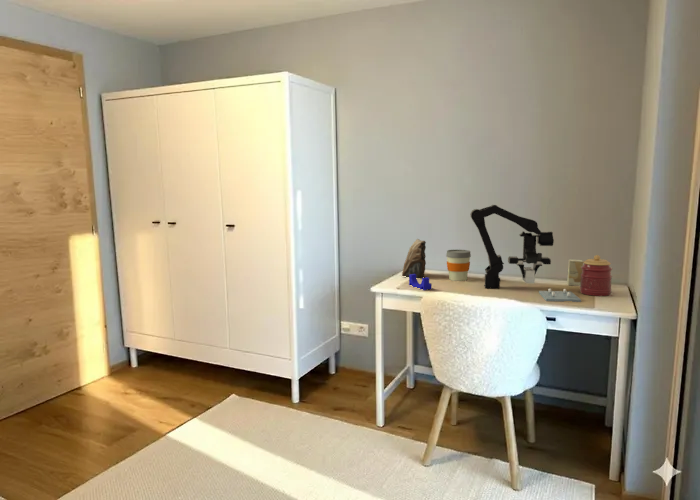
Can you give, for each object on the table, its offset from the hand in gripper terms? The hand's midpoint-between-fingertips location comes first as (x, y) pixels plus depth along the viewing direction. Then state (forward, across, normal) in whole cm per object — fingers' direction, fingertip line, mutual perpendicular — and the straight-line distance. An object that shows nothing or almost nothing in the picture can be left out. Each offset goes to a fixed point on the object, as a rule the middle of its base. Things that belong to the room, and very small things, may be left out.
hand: (528, 278), depth 244 cm
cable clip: (+5, -51, -4) cm, 52 cm away
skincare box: (+5, +24, +11) cm, 27 cm away
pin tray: (+5, +10, -18) cm, 21 cm away
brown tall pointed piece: (+5, -56, +24) cm, 61 cm away
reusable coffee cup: (+5, -32, +19) cm, 38 cm away
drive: (+2, 0, 0) cm, 2 cm away
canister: (+5, +28, -8) cm, 30 cm away
